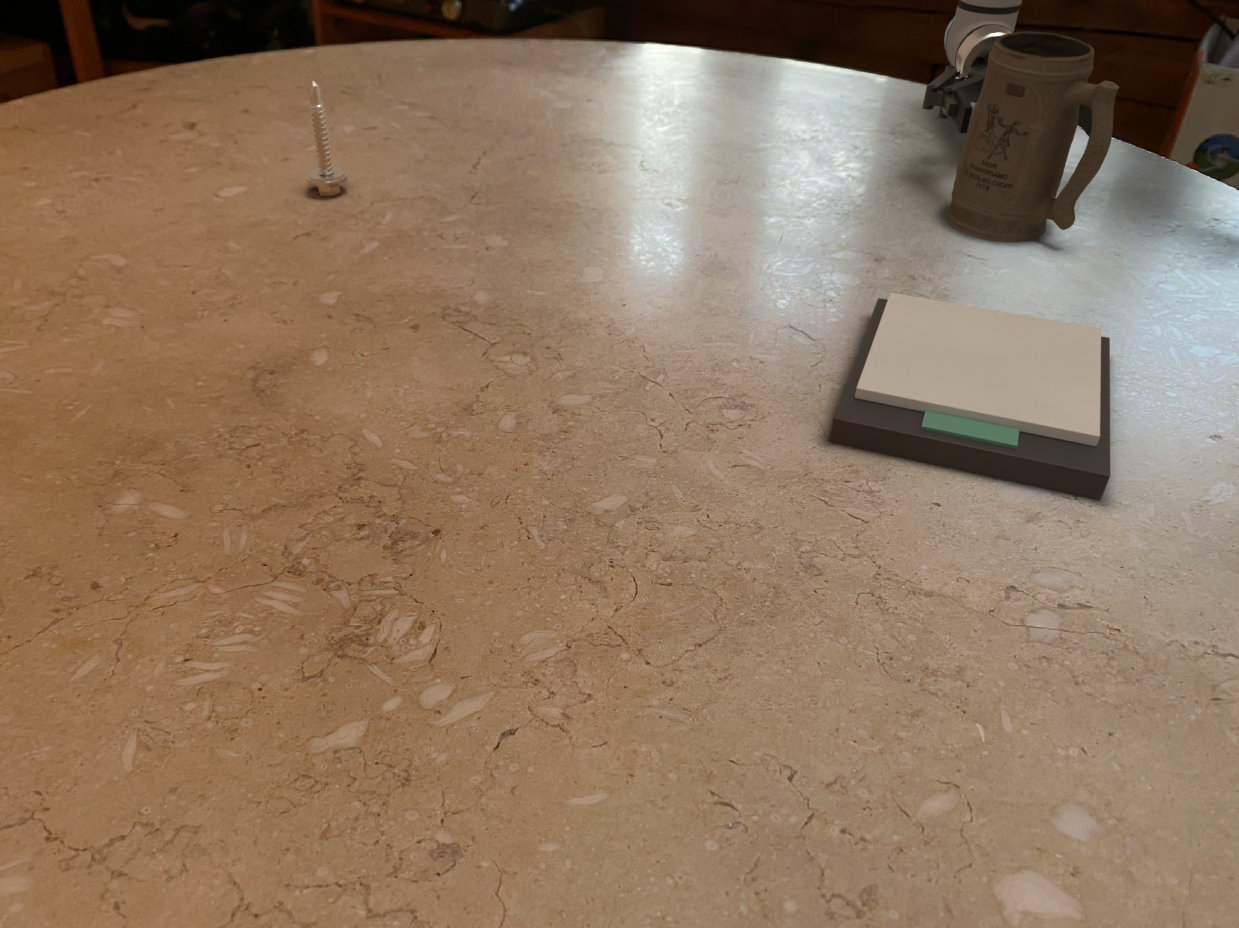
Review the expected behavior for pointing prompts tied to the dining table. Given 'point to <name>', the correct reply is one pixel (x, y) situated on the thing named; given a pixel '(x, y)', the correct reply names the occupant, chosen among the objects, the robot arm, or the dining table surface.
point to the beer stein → (1029, 138)
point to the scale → (982, 394)
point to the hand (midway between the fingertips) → (1031, 123)
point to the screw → (323, 149)
